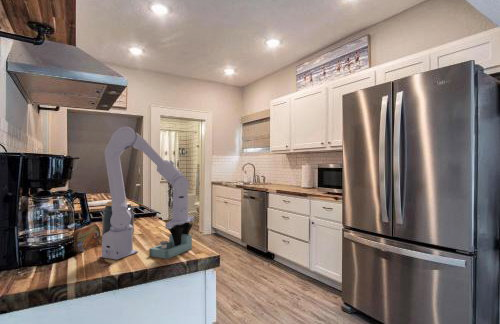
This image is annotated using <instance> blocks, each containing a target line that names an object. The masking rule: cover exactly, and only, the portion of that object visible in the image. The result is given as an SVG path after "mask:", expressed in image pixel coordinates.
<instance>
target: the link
mask: <svg viewBox="0 0 500 324" xmlns="http://www.w3.org/2000/svg"><path fill="white" fill-rule="evenodd" d="M168 236H169V237H168V238H169V239H168V243H167V250H165V249H161V244H158V245H156V246H153V247H149V249H148V250H149V253H148V254H149V256H150V257H153V258H161V259H171V258H173V257H176V256H178V255H180V254H182V253H185V252H186V251H189V250H191V249H193V234H182V236H181V245H179V246H175V244H174V240H173V237H172V235H171V233H170V234H169V235H168Z"/></svg>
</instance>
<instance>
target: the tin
mask: <svg viewBox="0 0 500 324" xmlns="http://www.w3.org/2000/svg"><path fill="white" fill-rule="evenodd" d="M71 236H73V237H74V240H75V247H76V251H77V252H76V253H84V251H85V252H86V251H89V250H90V249H92V248H95V247H96V246H97V245H99V242H100V240H101V230H100V227H99V225H97V224H89V225H86V226H82V227H80V228H77V229H75V230H74V232H72V234H71Z"/></svg>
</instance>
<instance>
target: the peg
mask: <svg viewBox="0 0 500 324" xmlns="http://www.w3.org/2000/svg"><path fill="white" fill-rule="evenodd" d="M168 242H169V240H168V241H167V240H162V241H160V242H159V243H160V244H159V245H161V249H165V250H167V243H168Z"/></svg>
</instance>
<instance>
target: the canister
mask: <svg viewBox="0 0 500 324" xmlns="http://www.w3.org/2000/svg"><path fill="white" fill-rule="evenodd" d="M126 201H127V206H128V209H129V210H130V211H131V214H132V218H131V222H130V225H132V226H133V234H134V232H135V227H134V226H135V225H134V224H135V223H134V222H135V221H134V220H135V219H134V218H135V215H134V210H135V207H133V203H132V202H131V201H130V200H128V199H126ZM101 212H103V213H102V214H103V216H102V217H101V219H102V230H101V234H102V236H103V235H104V234H105V233H106V232H108V231H110V227H112V225H111V223H110V219H111V216H112V201H111V200H109V201H107V202H106V203H104V208H103V209H102V210H101Z"/></svg>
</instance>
